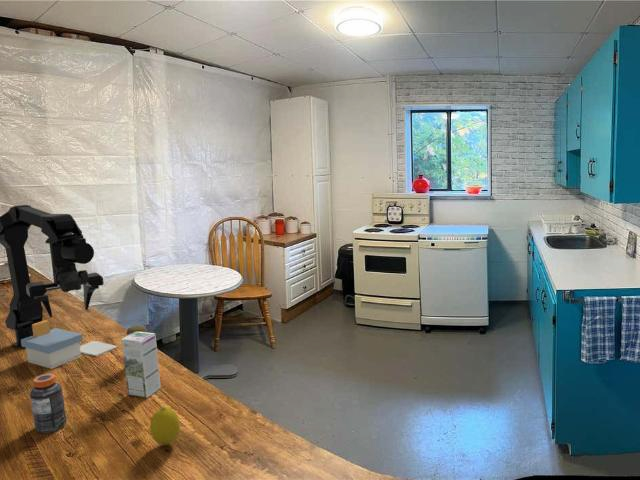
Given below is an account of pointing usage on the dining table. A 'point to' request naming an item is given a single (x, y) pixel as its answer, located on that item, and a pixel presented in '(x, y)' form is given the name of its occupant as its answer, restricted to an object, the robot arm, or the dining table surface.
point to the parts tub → (54, 356)
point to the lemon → (165, 425)
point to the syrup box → (141, 364)
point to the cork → (136, 329)
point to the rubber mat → (96, 348)
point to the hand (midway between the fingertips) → (69, 313)
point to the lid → (50, 338)
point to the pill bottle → (47, 404)
